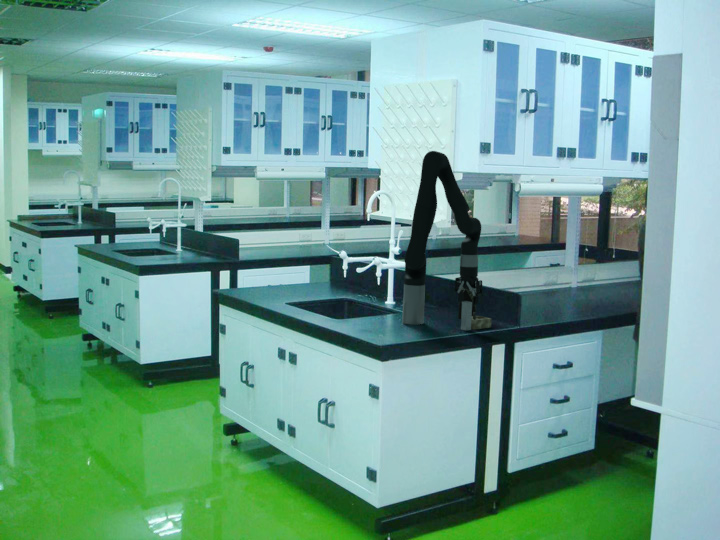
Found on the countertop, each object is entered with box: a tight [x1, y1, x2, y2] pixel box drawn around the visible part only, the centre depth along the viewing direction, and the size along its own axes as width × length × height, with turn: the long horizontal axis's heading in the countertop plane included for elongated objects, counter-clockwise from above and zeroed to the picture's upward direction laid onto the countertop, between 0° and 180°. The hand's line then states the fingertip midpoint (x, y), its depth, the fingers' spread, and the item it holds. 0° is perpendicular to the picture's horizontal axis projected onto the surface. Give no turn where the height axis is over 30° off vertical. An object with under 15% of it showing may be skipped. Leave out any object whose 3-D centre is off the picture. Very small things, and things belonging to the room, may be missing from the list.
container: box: [457, 275, 479, 320], centre depth 345 cm, size 9×9×20 cm
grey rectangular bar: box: [460, 301, 472, 331], centre depth 319 cm, size 3×3×12 cm
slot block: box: [471, 311, 492, 330], centre depth 326 cm, size 10×8×7 cm
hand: (468, 303), depth 319 cm, fingers open, 8 cm apart
